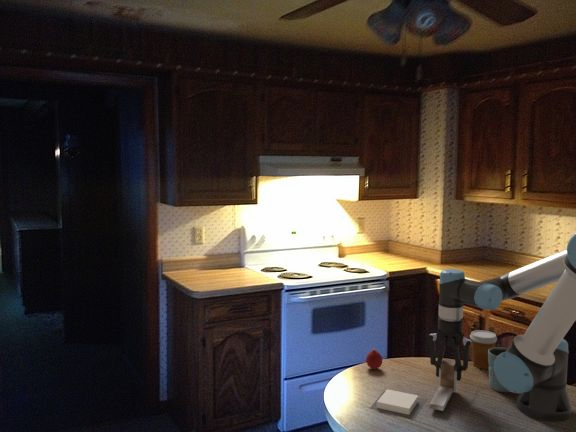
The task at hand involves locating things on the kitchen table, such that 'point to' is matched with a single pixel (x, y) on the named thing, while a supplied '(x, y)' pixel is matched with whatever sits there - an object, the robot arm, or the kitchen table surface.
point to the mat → (412, 414)
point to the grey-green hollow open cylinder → (492, 376)
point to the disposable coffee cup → (482, 347)
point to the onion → (374, 359)
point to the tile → (397, 402)
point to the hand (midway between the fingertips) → (448, 387)
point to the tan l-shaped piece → (444, 385)
